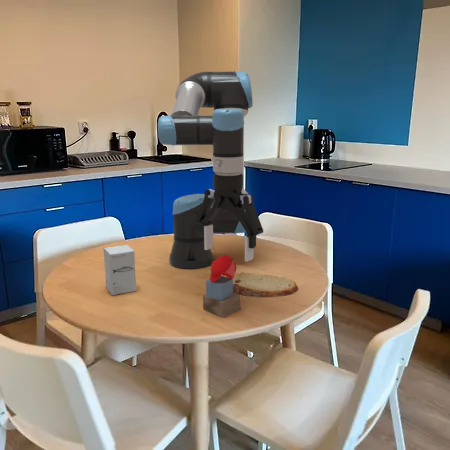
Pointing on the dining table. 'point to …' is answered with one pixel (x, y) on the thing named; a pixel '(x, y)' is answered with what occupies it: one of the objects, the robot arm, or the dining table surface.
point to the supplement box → (120, 269)
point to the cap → (222, 268)
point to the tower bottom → (222, 305)
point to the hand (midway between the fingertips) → (228, 254)
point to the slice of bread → (263, 285)
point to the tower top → (219, 288)
